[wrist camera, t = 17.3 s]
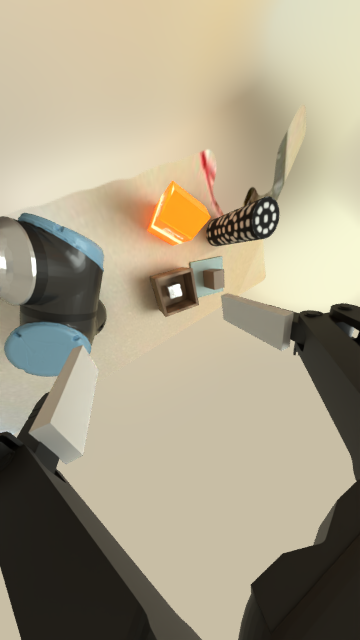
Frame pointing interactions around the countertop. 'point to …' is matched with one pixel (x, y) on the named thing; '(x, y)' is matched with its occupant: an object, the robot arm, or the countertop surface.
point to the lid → (208, 276)
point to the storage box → (187, 288)
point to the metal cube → (173, 290)
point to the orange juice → (177, 216)
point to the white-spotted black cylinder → (245, 223)
